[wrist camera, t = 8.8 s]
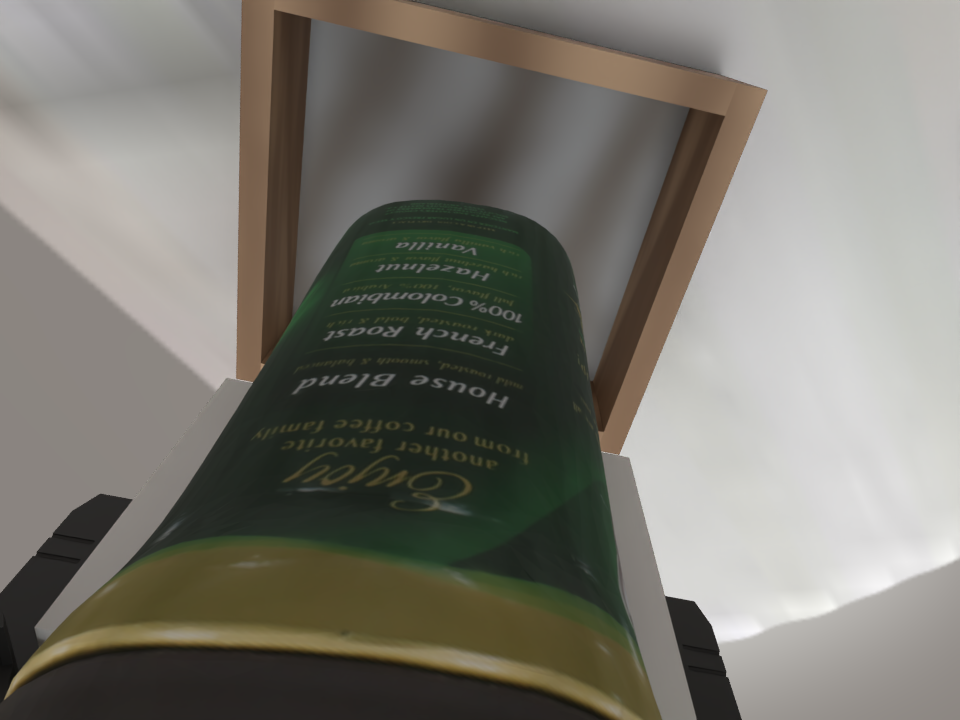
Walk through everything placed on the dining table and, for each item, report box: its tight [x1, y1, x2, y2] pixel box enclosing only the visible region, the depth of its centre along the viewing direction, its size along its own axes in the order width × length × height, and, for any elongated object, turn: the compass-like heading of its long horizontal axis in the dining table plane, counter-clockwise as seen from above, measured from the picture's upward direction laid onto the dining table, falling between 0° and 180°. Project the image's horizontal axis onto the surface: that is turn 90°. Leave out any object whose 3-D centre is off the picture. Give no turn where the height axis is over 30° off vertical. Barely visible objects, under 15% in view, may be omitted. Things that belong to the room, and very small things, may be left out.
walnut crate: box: [236, 0, 768, 455], centre depth 30 cm, size 20×18×6 cm
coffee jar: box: [0, 200, 662, 720], centre depth 13 cm, size 10×8×19 cm
